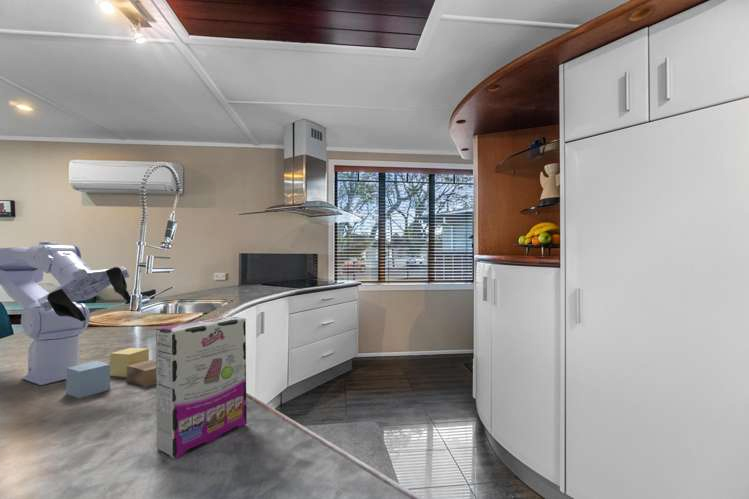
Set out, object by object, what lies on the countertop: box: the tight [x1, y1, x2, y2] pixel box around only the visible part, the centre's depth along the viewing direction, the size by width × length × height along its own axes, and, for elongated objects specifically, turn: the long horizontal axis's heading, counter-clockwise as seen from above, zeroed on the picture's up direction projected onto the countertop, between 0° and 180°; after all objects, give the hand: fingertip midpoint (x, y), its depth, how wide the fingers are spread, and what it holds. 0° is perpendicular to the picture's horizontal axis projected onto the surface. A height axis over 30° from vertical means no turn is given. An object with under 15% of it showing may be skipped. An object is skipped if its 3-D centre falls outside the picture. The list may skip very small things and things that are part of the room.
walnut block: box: [126, 358, 157, 388], centre depth 74 cm, size 7×7×4 cm
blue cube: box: [65, 360, 111, 399], centre depth 67 cm, size 5×5×5 cm
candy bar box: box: [155, 315, 247, 460], centre depth 50 cm, size 11×5×16 cm, turn 148°
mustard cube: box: [109, 347, 150, 378], centre depth 78 cm, size 5×5×5 cm
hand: (105, 306), depth 66 cm, fingers open, 7 cm apart
